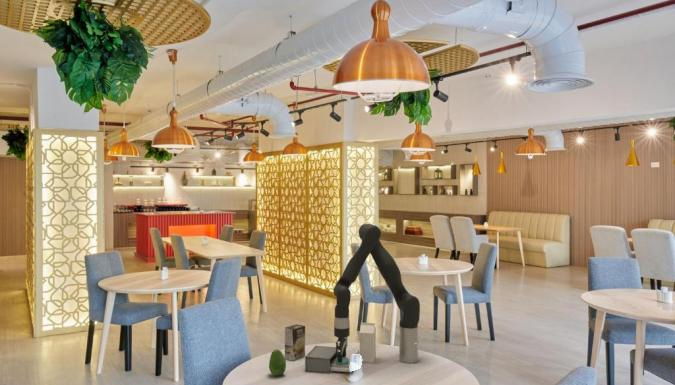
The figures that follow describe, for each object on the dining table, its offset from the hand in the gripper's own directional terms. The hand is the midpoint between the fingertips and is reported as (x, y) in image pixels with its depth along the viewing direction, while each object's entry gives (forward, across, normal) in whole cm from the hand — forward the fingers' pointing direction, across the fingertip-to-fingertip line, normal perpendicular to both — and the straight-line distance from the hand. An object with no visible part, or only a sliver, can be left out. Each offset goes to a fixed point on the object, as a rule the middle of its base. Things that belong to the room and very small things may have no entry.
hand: (341, 359), depth 257 cm
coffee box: (+4, +9, +27) cm, 29 cm away
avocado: (+4, -17, +27) cm, 32 cm away
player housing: (+4, 0, +10) cm, 11 cm away
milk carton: (+4, +14, -10) cm, 18 cm away
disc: (+2, 0, 0) cm, 2 cm away
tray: (+3, 0, -1) cm, 3 cm away
